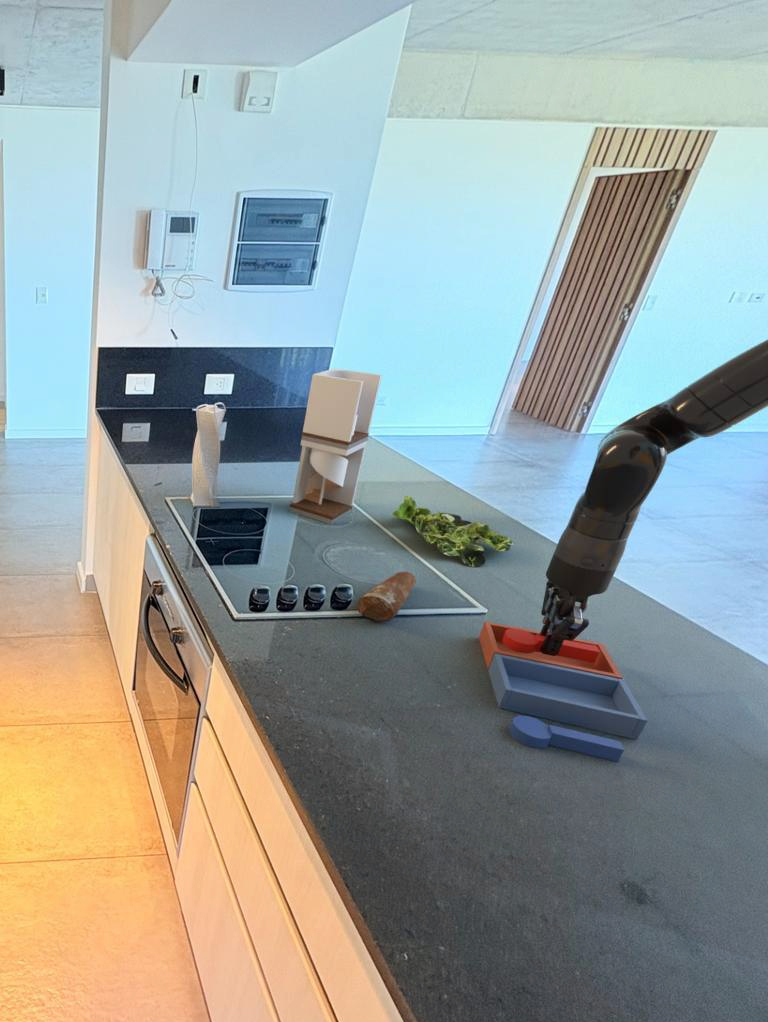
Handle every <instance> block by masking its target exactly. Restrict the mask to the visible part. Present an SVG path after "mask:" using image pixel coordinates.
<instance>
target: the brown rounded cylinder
mask: <svg viewBox="0 0 768 1022" xmlns="http://www.w3.org/2000/svg"><path fill="white" fill-rule="evenodd" d="M416 583H417V579H416V577H415V575H414V574H413V573H411V572H409V571H399V572H397V573H395V574H394V575H392V576H390V577H388V578H387V579H385V580H384V581H382V582H381V583H379V584H378V585H376V586H375V587H373V588H372V589H370V590H369V591H368V592H366V593H365V594H364V595H362V597H360V599H359V600H358V601H357V605H356V606H357V611H358V613H359V614H360V615H361V616H362V617H366V618H369V619H372V620H374V621H377V622H388V621H391V620H392V619H393V618H395V617H396V615H398V613H399V611H400V610H401V608H402V607H403V606H404V604H405V602H406V600H407V599H408V597H409V595H410V594H411V592H412V591H413V588H414V587H415V585H416Z"/></svg>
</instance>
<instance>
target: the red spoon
mask: <svg viewBox="0 0 768 1022" xmlns="http://www.w3.org/2000/svg"><path fill="white" fill-rule="evenodd" d="M544 639H545V636H542V635H536V636H535V635H533V634H532V633H530V632H527V631H524V630H521V629H507V630H506V631H505V634H504V636H503V639H502V642H503V644H504V645H505V646H507V647H508V648H510V649H512V650H514V651H517V652H521V653H533V652H535V651H537V652H541V650H540V649H541V646H542V644H543V641H544ZM599 653H600V651H599V650H598V648H597V646H594V645H589V644H584V643H579V642H573V641H568V640H564V641H563V644H562V646H561V648H560V650H559V653H558V655H557V656H562V657H567V658H572V659H577V660H582V661H587V662H592V663H595V661H596V659H597V657H598V655H599Z"/></svg>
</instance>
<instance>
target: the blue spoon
mask: <svg viewBox="0 0 768 1022" xmlns="http://www.w3.org/2000/svg"><path fill="white" fill-rule="evenodd" d="M508 732H509V734H510V736H511V737H513V738H514V739H515V740H516V741H517V742H518V743H521V744H522V745H525V746H528V747H531V748H537V749H541V748H546V747H547V746H552V747H556V748H560V749H564V750H569V751H573V752H577V753H580V754H585V755H589V756H593V757H596V758H602V759H606V760H608V761H613V762H619V760H620V759H621V757H622V755H623V753H624V751H625V748H624V746H623V745H622V743H621V741H620V740H616V739H611V738H607V737H604V736H599V735H595V734H591V733H587V732H582V731H577V730H574V729H570V728H565V727H560V726H556V725H552V724H549V725H548V724H546V723H545V722H543V721H541V720H539V719H537V718H535V717H534V716H530V715H517V716H514V717H513V718H512V721H511V723H510V725H509V727H508Z"/></svg>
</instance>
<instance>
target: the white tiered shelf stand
mask: <svg viewBox="0 0 768 1022" xmlns="http://www.w3.org/2000/svg"><path fill="white" fill-rule="evenodd" d="M382 377H383V375H382V374H379V373H378V374H377V373H373V372H364V371H357V370H349V369H343V368H334V367H333V368H331V369H327V370H323V371H320V372H317V373H314V374H312V376H311V382H310V388H309V394H308V400H307V405H306V413H305V417H304V422H303V428H302V434H301V439H300V446H301V452H300V458H299V463H298V469H297V474H296V480H295V485H294V492H293V496H292V502H291V503H289V509H288V512H291V513H293V514H296V515H301V516H304V517H307V518H310V519H313V520H317V521H319V522H323V523H325V524H329V525H333V524H335V523H336V522H338V521H339V520H341V519H343V518H344V517H346V516H348V515H350V514H351V513H352V511H353V505H354V502H355V497H356V492H357V487H358V484H359V478H360V475H361V470H362V465H363V462H364V461H363V460H364V457H365V452H366V449H367V443H368V439H369V436H370V430H371V427H372V426H371V425H372V421H373V417H374V413H375V409H376V408H375V407H376V403H377V400H378V394H379V390H380V385H381V381H382Z"/></svg>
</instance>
